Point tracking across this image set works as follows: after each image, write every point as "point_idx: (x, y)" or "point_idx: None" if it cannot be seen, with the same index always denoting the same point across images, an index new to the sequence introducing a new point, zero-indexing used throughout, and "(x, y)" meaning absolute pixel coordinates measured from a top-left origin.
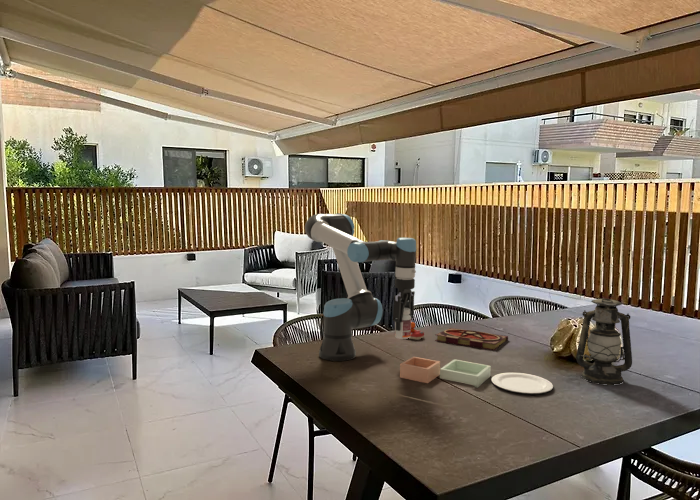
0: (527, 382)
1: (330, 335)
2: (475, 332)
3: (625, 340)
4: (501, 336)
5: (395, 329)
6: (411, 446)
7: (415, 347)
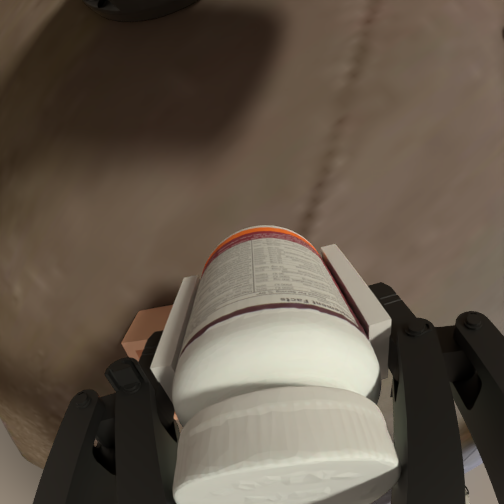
0: None
1: None
2: None
3: None
4: None
5: (199, 285)
6: (26, 435)
7: (480, 114)
